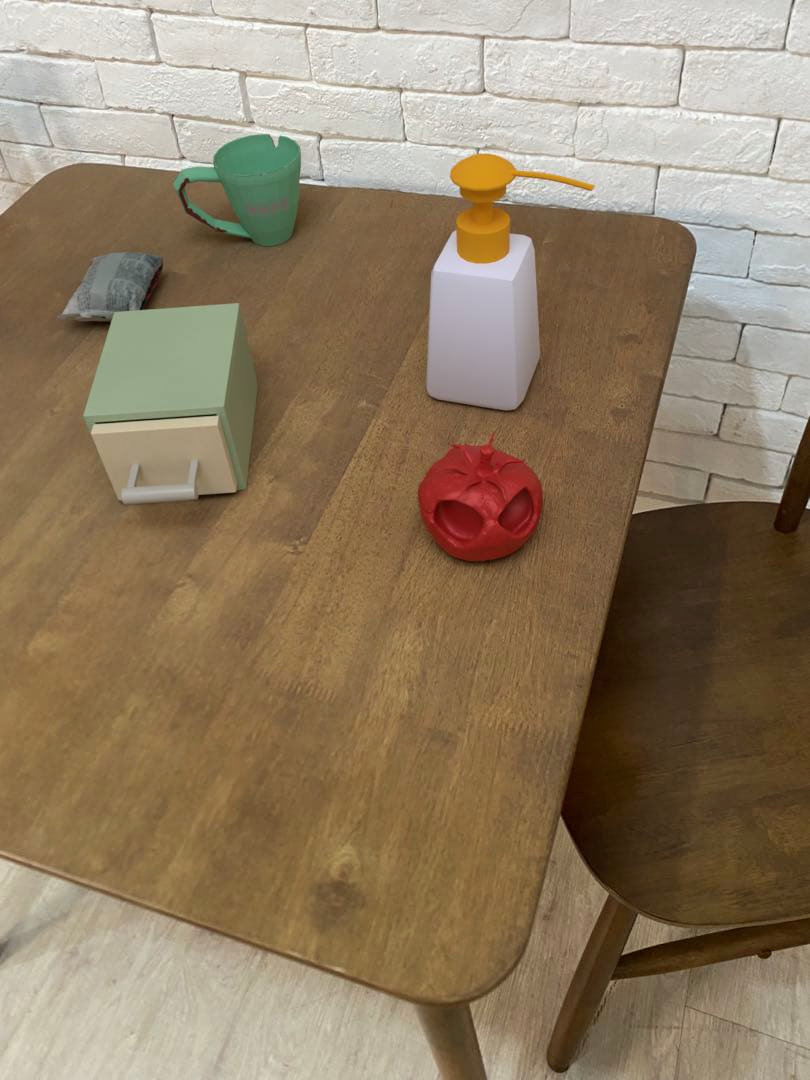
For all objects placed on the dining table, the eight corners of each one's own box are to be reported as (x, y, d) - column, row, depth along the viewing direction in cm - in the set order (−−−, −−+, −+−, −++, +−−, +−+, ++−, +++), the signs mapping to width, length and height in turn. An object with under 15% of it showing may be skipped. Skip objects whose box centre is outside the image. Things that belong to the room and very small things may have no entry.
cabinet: (246, 489, 83) (223, 406, 76) (116, 498, 83) (82, 416, 76) (258, 385, 93) (239, 302, 86) (142, 393, 93) (113, 311, 86)
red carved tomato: (416, 493, 81) (409, 411, 74) (530, 482, 81) (534, 399, 74) (426, 581, 75) (420, 500, 68) (550, 569, 75) (557, 487, 68)
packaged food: (65, 337, 100) (49, 297, 97) (98, 275, 108) (85, 236, 104) (144, 338, 99) (131, 298, 96) (172, 276, 107) (161, 236, 104)
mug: (305, 208, 115) (292, 127, 108) (319, 248, 109) (307, 166, 101) (187, 229, 114) (166, 149, 106) (194, 272, 107) (172, 190, 100)
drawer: (232, 528, 79) (211, 460, 73) (109, 536, 79) (80, 469, 73) (248, 393, 91) (232, 326, 85) (142, 400, 91) (118, 334, 85)
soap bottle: (565, 426, 86) (584, 199, 69) (421, 402, 89) (407, 181, 73) (586, 363, 92) (608, 140, 75) (450, 343, 95) (443, 126, 79)
